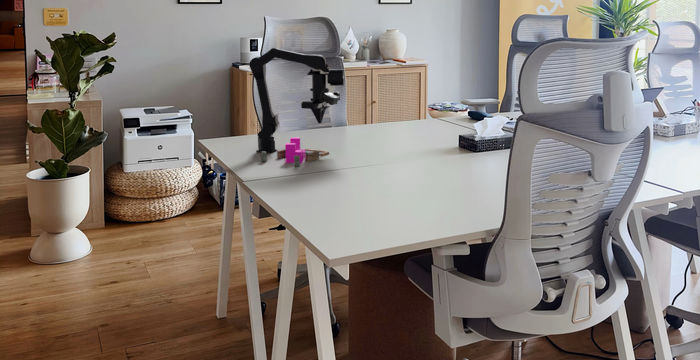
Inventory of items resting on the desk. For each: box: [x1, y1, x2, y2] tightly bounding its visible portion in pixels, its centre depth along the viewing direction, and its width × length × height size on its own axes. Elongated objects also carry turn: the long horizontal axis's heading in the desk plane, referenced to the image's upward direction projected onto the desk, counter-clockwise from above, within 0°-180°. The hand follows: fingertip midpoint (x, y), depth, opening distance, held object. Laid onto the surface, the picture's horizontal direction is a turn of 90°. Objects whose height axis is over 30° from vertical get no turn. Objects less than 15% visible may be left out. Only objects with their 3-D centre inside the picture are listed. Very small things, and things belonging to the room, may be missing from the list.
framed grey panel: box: [260, 148, 330, 168], centre depth 294 cm, size 18×27×4 cm, turn 149°
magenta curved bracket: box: [284, 137, 306, 164], centre depth 293 cm, size 15×6×8 cm, turn 176°
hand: (319, 123), depth 305 cm, fingers closed
